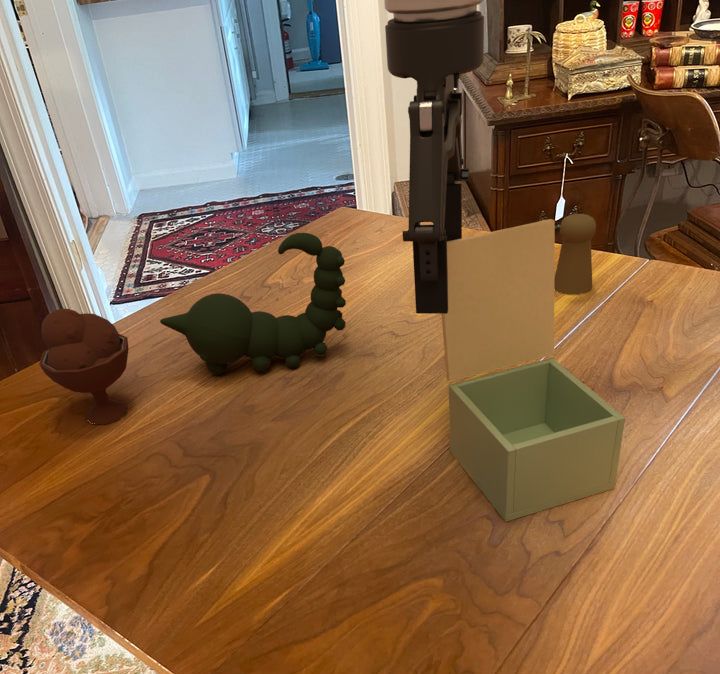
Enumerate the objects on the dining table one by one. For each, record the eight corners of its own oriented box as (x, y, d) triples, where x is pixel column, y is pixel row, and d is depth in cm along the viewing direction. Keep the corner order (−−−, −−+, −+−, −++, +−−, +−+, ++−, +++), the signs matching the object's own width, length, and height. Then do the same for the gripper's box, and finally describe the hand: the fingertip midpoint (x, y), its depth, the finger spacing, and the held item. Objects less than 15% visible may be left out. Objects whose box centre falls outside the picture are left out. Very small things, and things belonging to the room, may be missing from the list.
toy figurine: (339, 346, 110) (170, 360, 107) (337, 219, 99) (147, 230, 96) (350, 376, 103) (168, 392, 100) (348, 242, 92) (143, 255, 88)
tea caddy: (614, 488, 76) (625, 417, 71) (505, 522, 74) (508, 451, 68) (547, 423, 87) (552, 357, 81) (449, 450, 84) (448, 384, 79)
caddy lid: (554, 220, 73) (550, 218, 74) (439, 245, 71) (435, 243, 72) (554, 354, 81) (550, 352, 81) (449, 382, 78) (446, 379, 79)
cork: (567, 275, 119) (573, 207, 112) (600, 284, 115) (608, 214, 109) (544, 288, 116) (549, 218, 109) (577, 297, 112) (584, 226, 106)
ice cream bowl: (94, 446, 92) (52, 338, 83) (50, 419, 98) (7, 315, 89) (163, 408, 97) (131, 303, 88) (118, 384, 104) (83, 284, 95)
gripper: (408, -2, 66) (418, 232, 79) (352, 42, 47) (378, 342, 60) (493, -10, 64) (489, 230, 77) (471, 33, 45) (470, 343, 58)
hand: (440, 280), depth 69 cm, fingers open, 13 cm apart
